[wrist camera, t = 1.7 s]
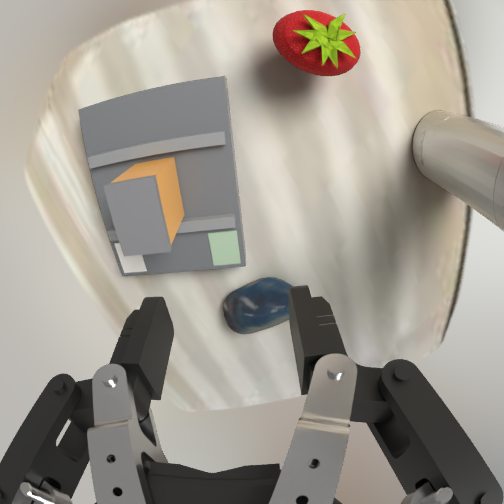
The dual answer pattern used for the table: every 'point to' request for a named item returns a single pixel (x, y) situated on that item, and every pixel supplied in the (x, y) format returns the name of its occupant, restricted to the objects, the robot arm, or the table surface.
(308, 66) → the strawberry
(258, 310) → the seashell
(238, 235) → the panel
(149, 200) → the breaker toggle
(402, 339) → the table surface
